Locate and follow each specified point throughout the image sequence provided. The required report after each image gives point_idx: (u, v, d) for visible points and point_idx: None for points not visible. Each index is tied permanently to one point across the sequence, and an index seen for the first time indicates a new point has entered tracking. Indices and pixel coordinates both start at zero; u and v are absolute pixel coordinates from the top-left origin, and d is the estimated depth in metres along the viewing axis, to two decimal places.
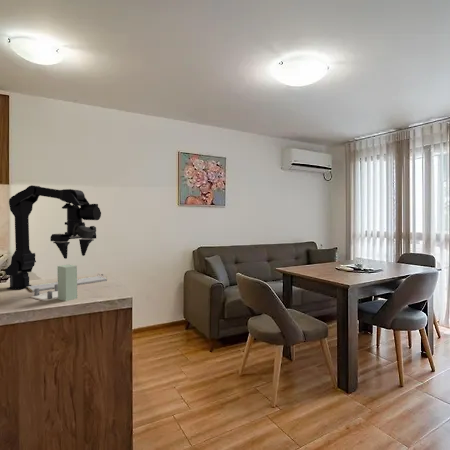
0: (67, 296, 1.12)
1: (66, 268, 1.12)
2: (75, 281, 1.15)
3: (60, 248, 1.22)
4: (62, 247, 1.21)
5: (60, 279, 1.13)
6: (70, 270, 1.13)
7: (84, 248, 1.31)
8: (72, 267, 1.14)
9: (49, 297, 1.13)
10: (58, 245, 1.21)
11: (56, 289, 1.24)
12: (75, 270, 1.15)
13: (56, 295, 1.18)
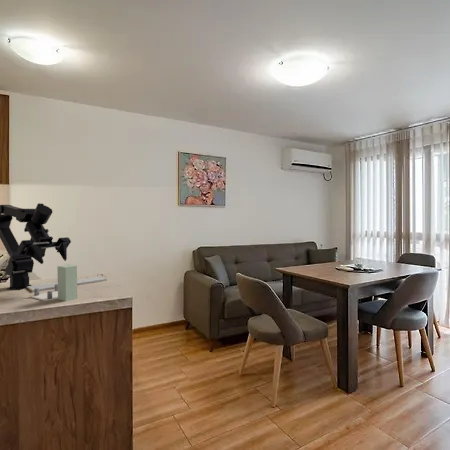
0: (67, 296, 1.12)
1: (66, 268, 1.12)
2: (75, 281, 1.15)
3: None
4: None
5: (60, 279, 1.13)
6: (70, 270, 1.13)
7: None
8: (72, 267, 1.14)
9: (49, 297, 1.13)
10: None
11: (56, 289, 1.24)
12: (75, 270, 1.15)
13: (56, 295, 1.18)
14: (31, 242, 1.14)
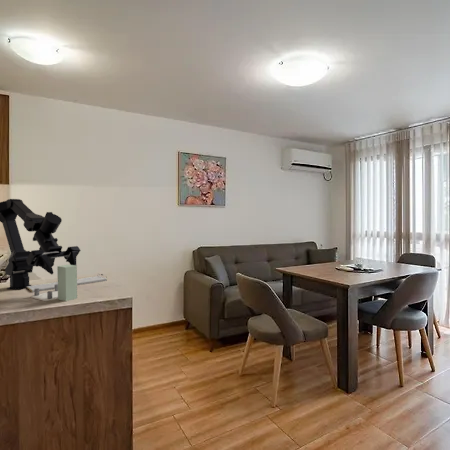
0: (67, 296, 1.12)
1: (66, 268, 1.12)
2: (75, 281, 1.15)
3: None
4: None
5: (60, 279, 1.13)
6: (70, 270, 1.13)
7: None
8: (72, 267, 1.14)
9: (49, 297, 1.13)
10: None
11: (56, 289, 1.24)
12: (75, 270, 1.15)
13: (56, 295, 1.18)
14: (41, 252, 1.11)
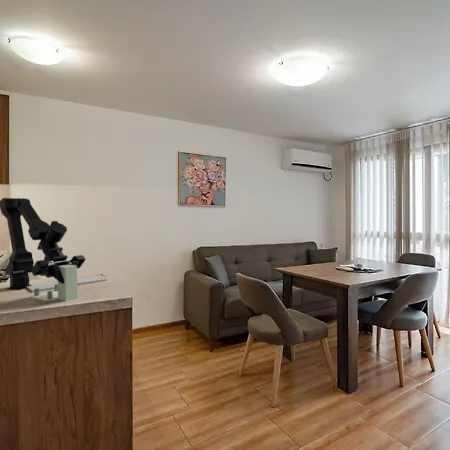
0: (67, 296, 1.12)
1: (66, 268, 1.12)
2: (75, 281, 1.15)
3: None
4: None
5: None
6: (70, 270, 1.13)
7: None
8: (72, 267, 1.14)
9: (49, 297, 1.13)
10: None
11: (56, 289, 1.24)
12: (75, 270, 1.15)
13: (56, 295, 1.18)
14: (46, 262, 1.10)
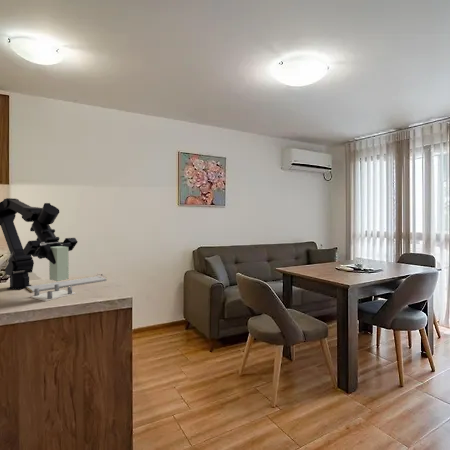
0: (59, 276, 1.14)
1: (58, 249, 1.14)
2: (66, 262, 1.17)
3: None
4: None
5: None
6: (62, 251, 1.15)
7: None
8: (64, 248, 1.16)
9: (49, 297, 1.13)
10: None
11: (56, 289, 1.24)
12: (67, 251, 1.17)
13: (56, 295, 1.18)
14: (38, 243, 1.12)
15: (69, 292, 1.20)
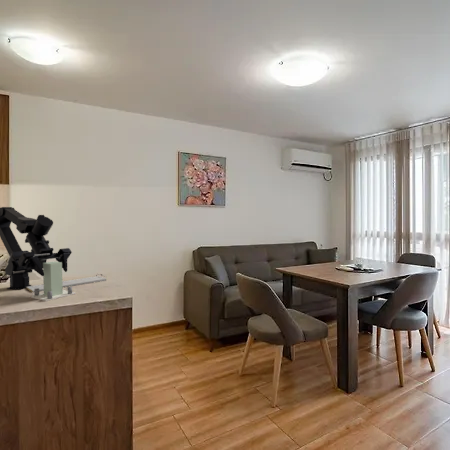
0: (53, 292, 1.16)
1: (51, 265, 1.16)
2: (60, 277, 1.19)
3: None
4: None
5: (45, 275, 1.17)
6: (55, 266, 1.17)
7: None
8: (57, 264, 1.18)
9: (49, 297, 1.13)
10: None
11: None
12: (60, 266, 1.19)
13: (56, 295, 1.18)
14: (32, 254, 1.14)
15: (69, 292, 1.20)
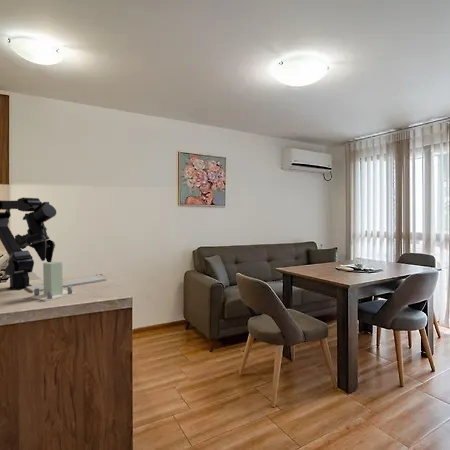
0: (53, 292, 1.16)
1: (51, 265, 1.16)
2: (60, 277, 1.19)
3: None
4: None
5: (46, 275, 1.17)
6: (55, 266, 1.17)
7: None
8: (57, 264, 1.18)
9: (49, 297, 1.13)
10: None
11: None
12: (60, 267, 1.19)
13: (56, 295, 1.18)
14: (45, 238, 1.19)
15: (69, 292, 1.20)
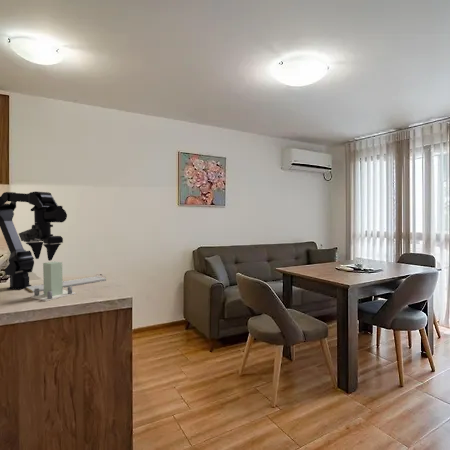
0: (53, 292, 1.16)
1: (51, 265, 1.16)
2: (60, 277, 1.19)
3: None
4: None
5: (46, 275, 1.17)
6: (55, 266, 1.17)
7: None
8: (57, 264, 1.18)
9: (49, 297, 1.13)
10: None
11: None
12: (60, 267, 1.19)
13: (56, 295, 1.18)
14: None
15: (69, 292, 1.20)
